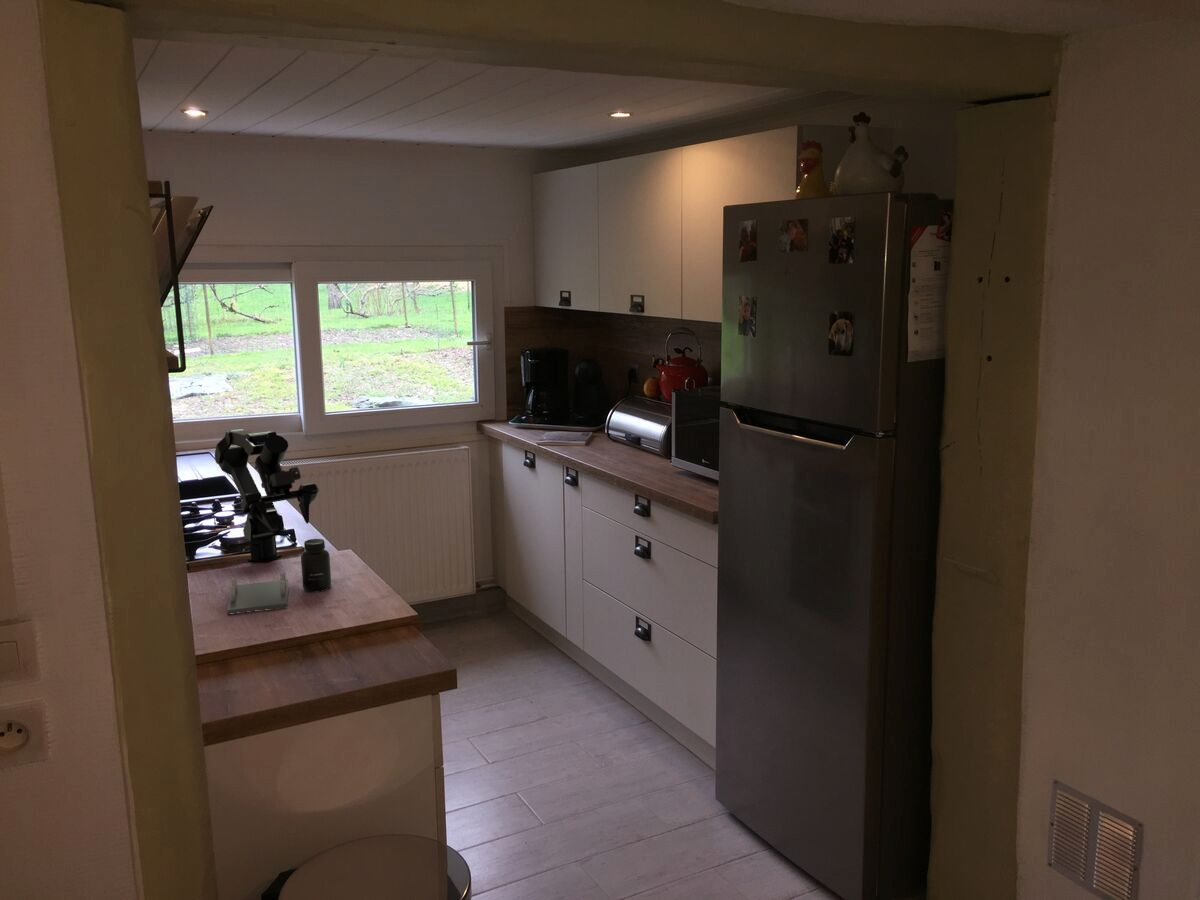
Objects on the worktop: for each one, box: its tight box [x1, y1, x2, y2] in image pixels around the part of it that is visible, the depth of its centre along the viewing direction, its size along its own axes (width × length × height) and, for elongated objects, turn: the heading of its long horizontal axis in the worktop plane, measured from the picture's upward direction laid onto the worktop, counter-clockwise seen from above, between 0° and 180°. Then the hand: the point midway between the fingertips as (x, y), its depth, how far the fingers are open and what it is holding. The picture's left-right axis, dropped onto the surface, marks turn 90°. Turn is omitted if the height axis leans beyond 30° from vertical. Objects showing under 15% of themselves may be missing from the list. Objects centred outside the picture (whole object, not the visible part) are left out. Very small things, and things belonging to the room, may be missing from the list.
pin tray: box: [227, 572, 289, 615], centre depth 231 cm, size 18×13×5 cm
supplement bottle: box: [300, 538, 332, 593], centre depth 238 cm, size 7×7×12 cm
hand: (290, 526), depth 244 cm, fingers open, 9 cm apart
